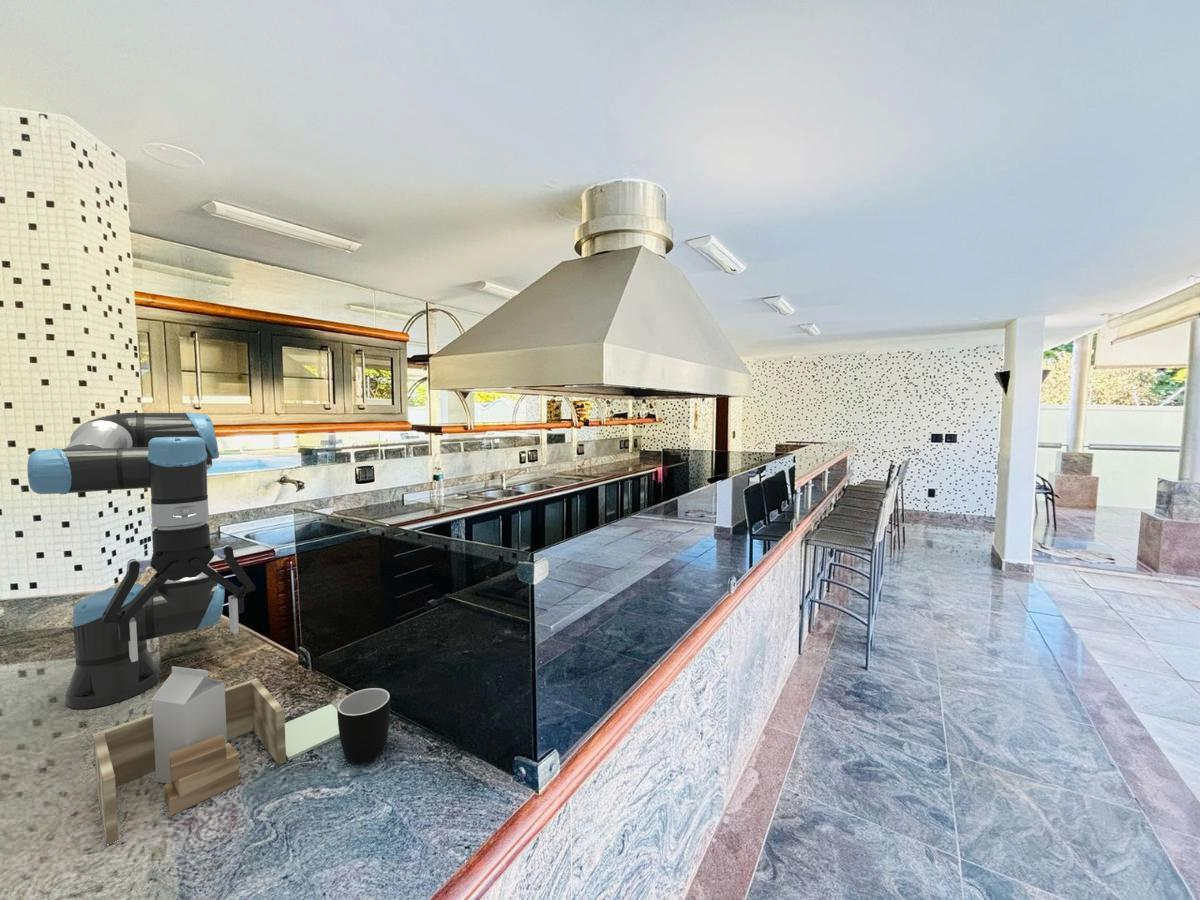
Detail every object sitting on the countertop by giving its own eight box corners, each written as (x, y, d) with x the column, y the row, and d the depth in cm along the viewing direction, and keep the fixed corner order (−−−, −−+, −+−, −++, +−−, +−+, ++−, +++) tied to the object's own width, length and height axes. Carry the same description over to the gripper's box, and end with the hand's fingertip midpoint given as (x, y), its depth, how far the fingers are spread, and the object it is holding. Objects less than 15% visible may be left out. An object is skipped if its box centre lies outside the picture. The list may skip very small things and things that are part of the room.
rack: (96, 790, 82) (93, 733, 81) (258, 724, 100) (256, 678, 99) (107, 846, 71) (103, 781, 71) (286, 761, 89) (284, 709, 88)
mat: (267, 733, 97) (267, 730, 97) (331, 706, 106) (331, 703, 106) (288, 760, 89) (288, 757, 89) (355, 729, 98) (355, 726, 98)
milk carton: (188, 788, 82) (183, 681, 81) (155, 782, 84) (149, 676, 83) (228, 760, 89) (224, 660, 88) (197, 754, 91) (192, 656, 90)
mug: (401, 746, 93) (400, 696, 93) (357, 775, 86) (356, 721, 85) (362, 726, 99) (361, 679, 99) (319, 752, 92) (317, 700, 91)
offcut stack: (164, 799, 80) (162, 755, 80) (232, 769, 87) (230, 728, 87) (171, 817, 76) (168, 771, 76) (241, 783, 84) (239, 741, 83)
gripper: (77, 542, 72) (85, 680, 73) (271, 517, 91) (276, 627, 92) (74, 534, 77) (81, 664, 78) (259, 512, 96) (263, 617, 97)
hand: (187, 644), depth 85 cm, fingers open, 13 cm apart
